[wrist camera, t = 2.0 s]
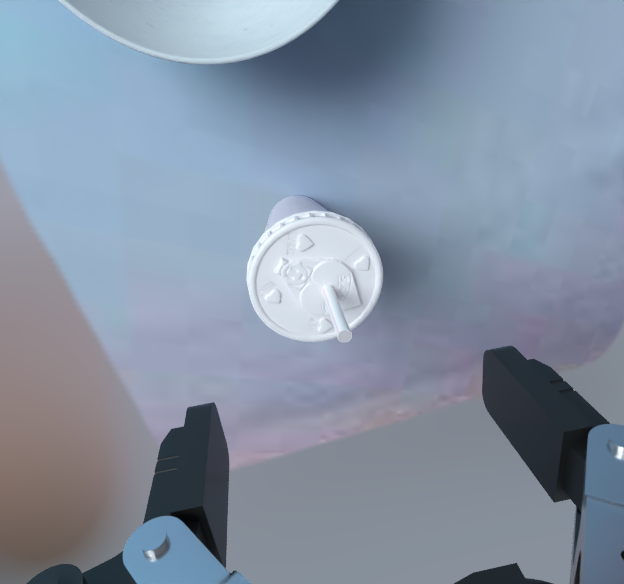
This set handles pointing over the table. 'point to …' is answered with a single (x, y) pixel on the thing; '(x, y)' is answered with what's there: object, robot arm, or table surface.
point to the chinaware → (202, 26)
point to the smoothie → (313, 272)
